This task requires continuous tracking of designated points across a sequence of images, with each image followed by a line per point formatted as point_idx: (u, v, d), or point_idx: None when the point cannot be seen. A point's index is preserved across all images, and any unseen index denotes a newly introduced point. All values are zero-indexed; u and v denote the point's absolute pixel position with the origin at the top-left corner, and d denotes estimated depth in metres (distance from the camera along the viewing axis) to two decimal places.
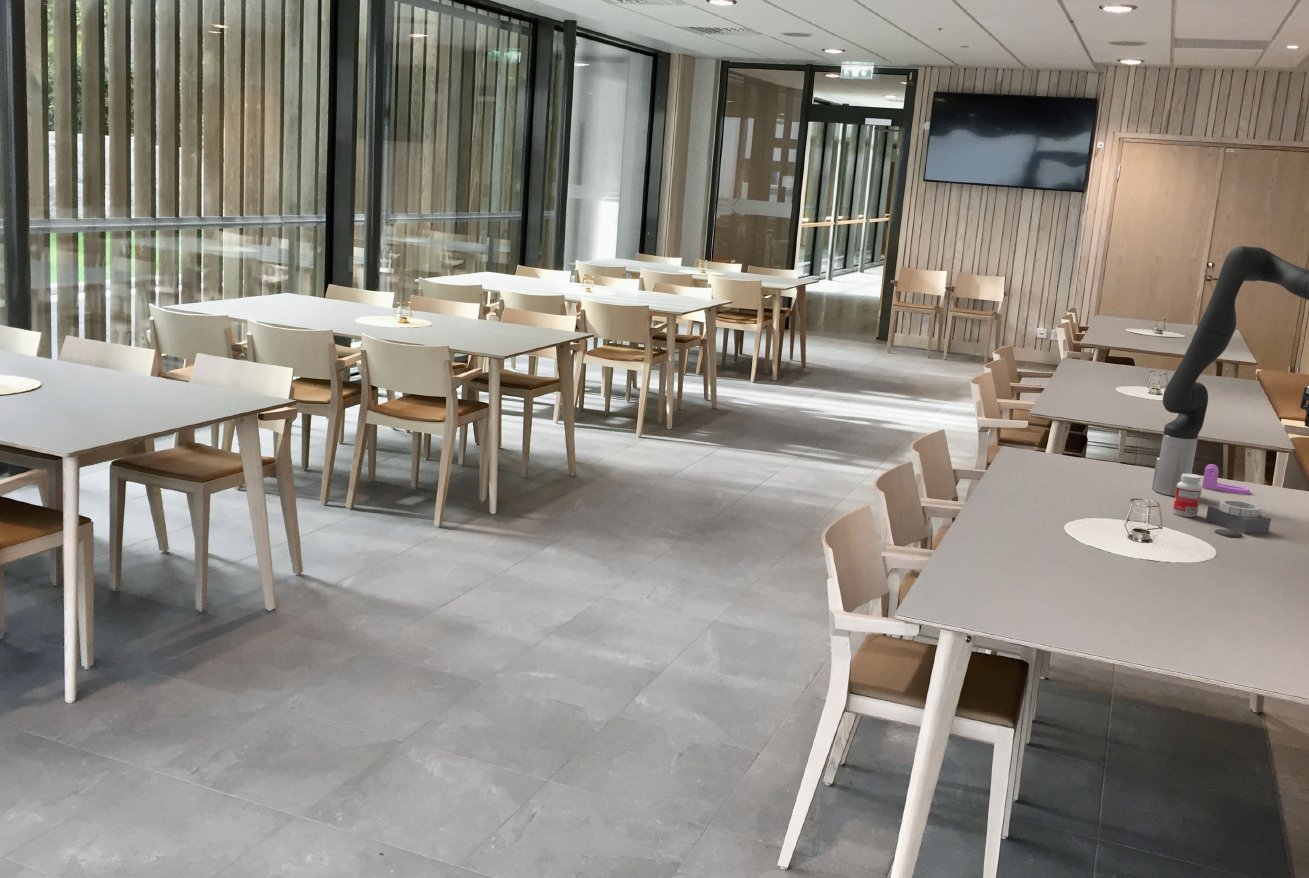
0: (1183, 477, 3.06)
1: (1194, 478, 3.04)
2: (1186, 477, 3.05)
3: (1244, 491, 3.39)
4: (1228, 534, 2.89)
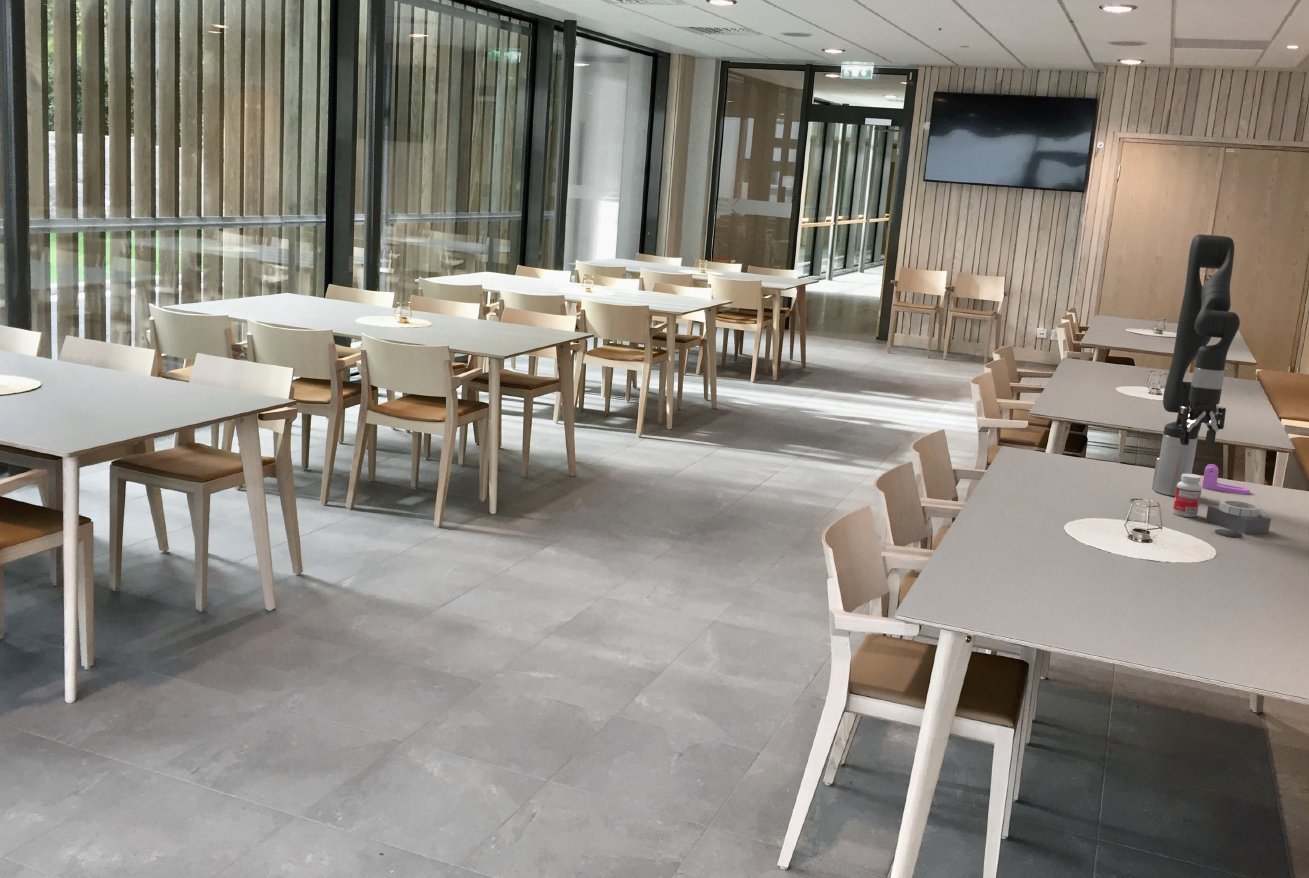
0: (1183, 477, 3.06)
1: (1194, 478, 3.04)
2: (1186, 477, 3.05)
3: (1244, 491, 3.39)
4: (1228, 534, 2.89)
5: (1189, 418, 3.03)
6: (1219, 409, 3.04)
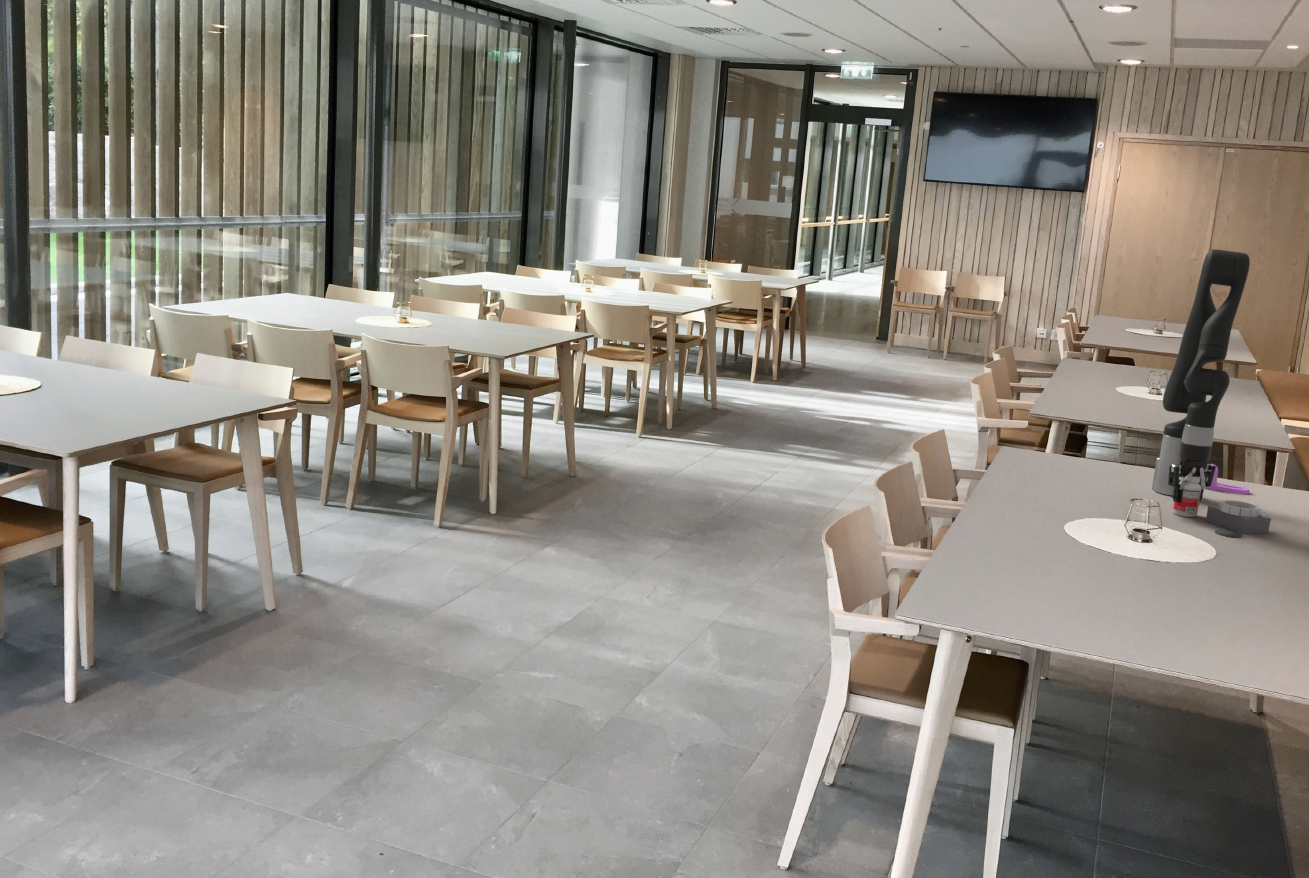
0: (1183, 477, 3.06)
1: (1194, 478, 3.04)
2: None
3: (1244, 491, 3.39)
4: (1228, 534, 2.89)
5: (1180, 475, 3.07)
6: (1209, 466, 3.07)
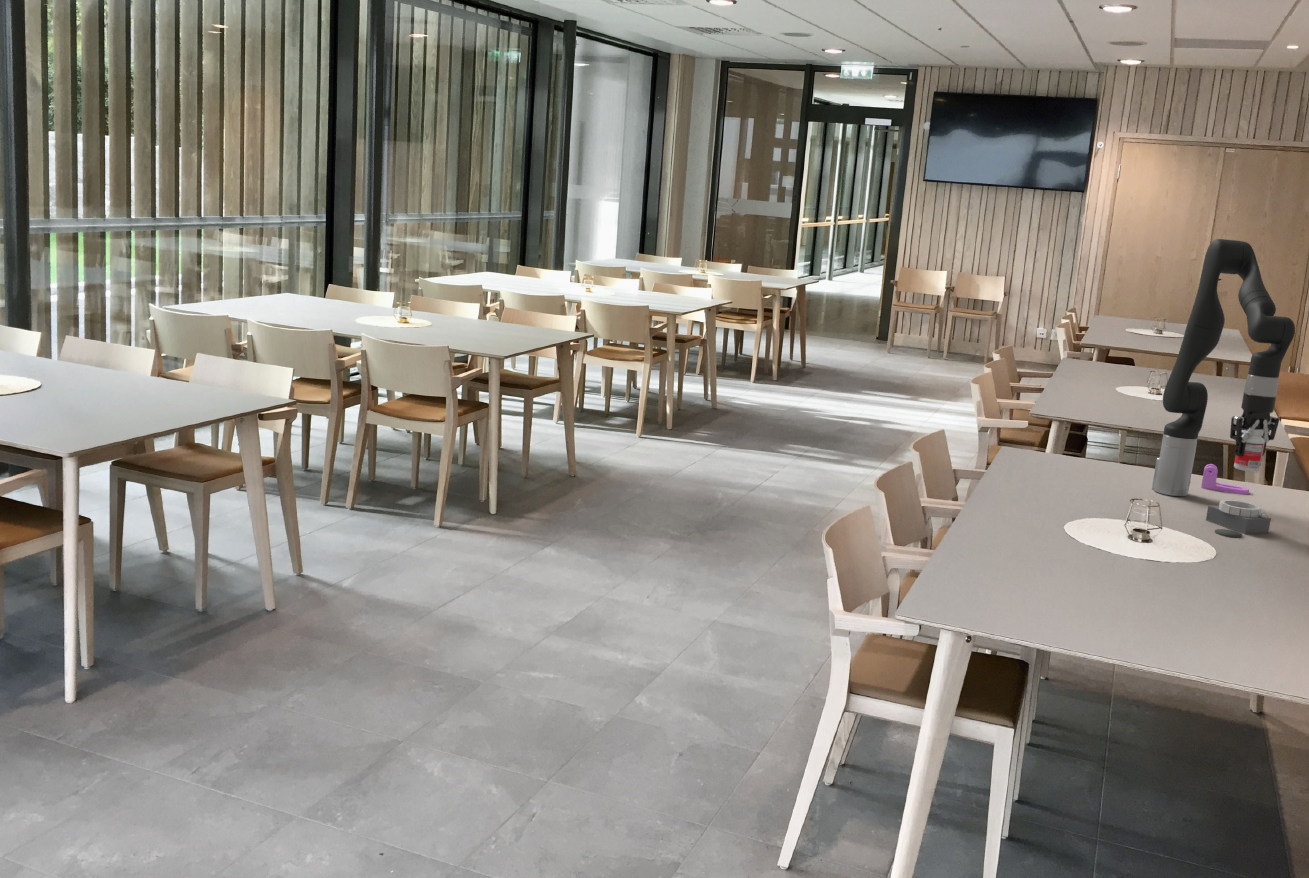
0: (1246, 430, 2.94)
1: (1257, 431, 2.92)
2: None
3: (1243, 491, 3.39)
4: (1228, 534, 2.89)
5: (1243, 427, 2.94)
6: (1272, 419, 2.95)
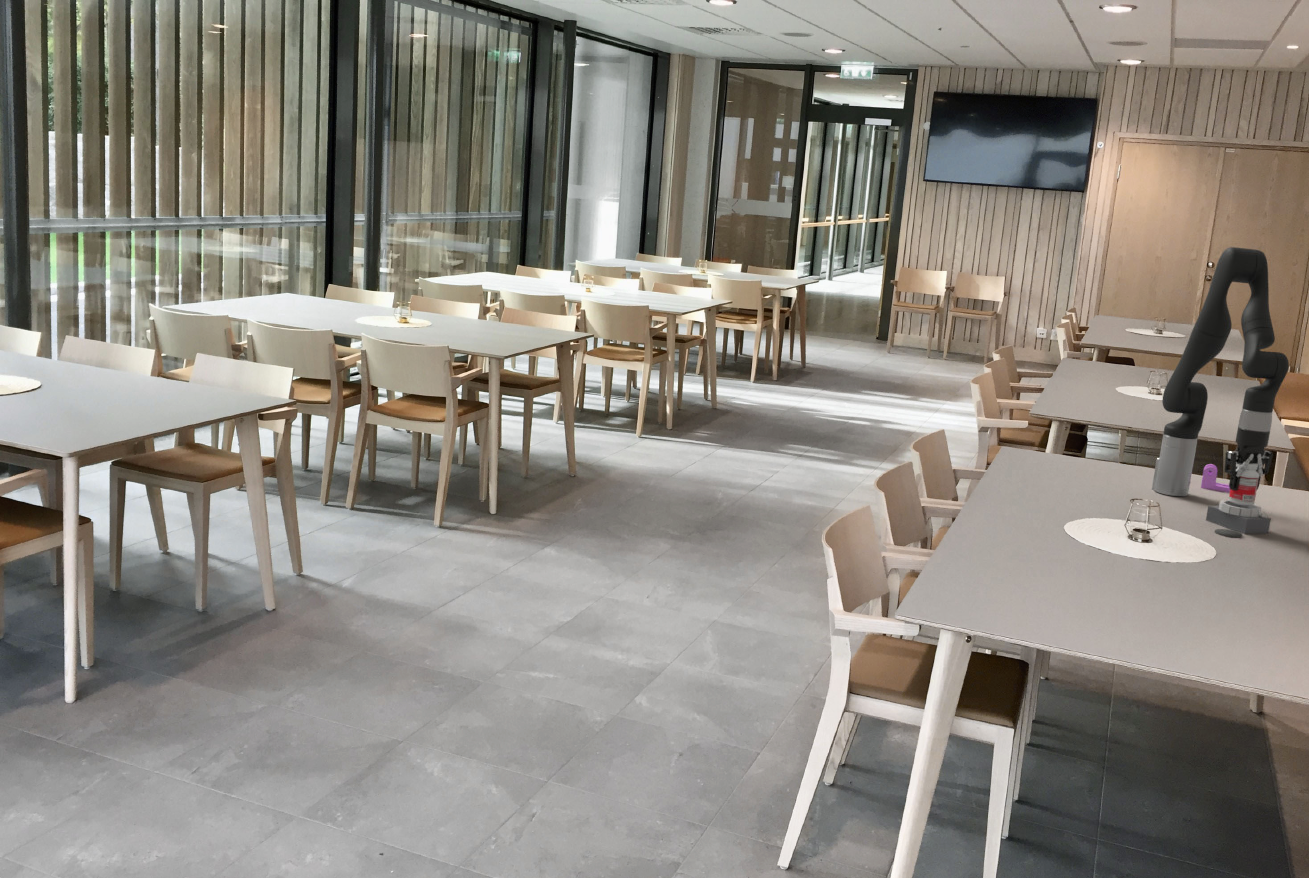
0: (1240, 464, 2.95)
1: (1252, 465, 2.94)
2: None
3: None
4: (1228, 534, 2.89)
5: (1237, 461, 2.96)
6: (1266, 453, 2.97)
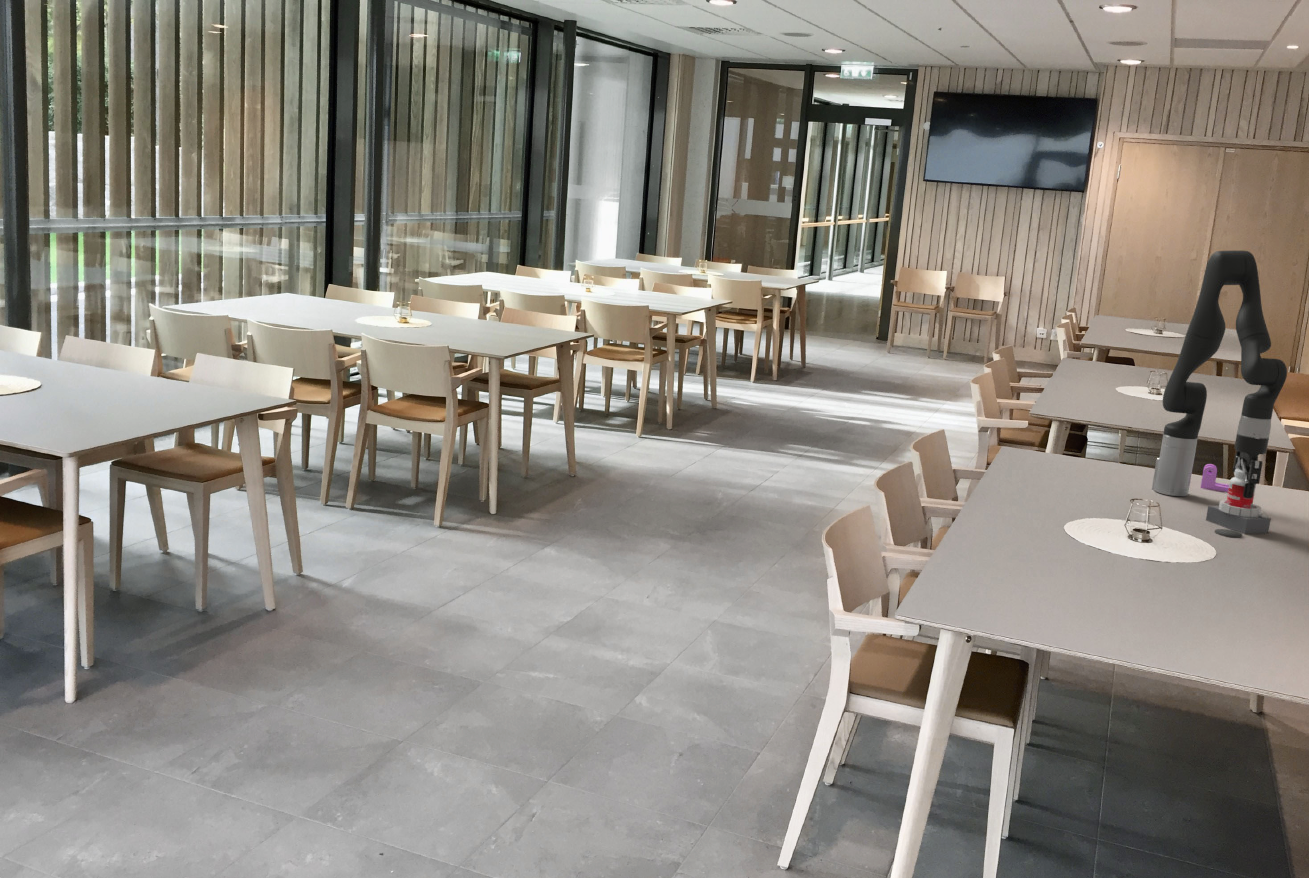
0: None
1: None
2: None
3: None
4: (1228, 534, 2.89)
5: None
6: None
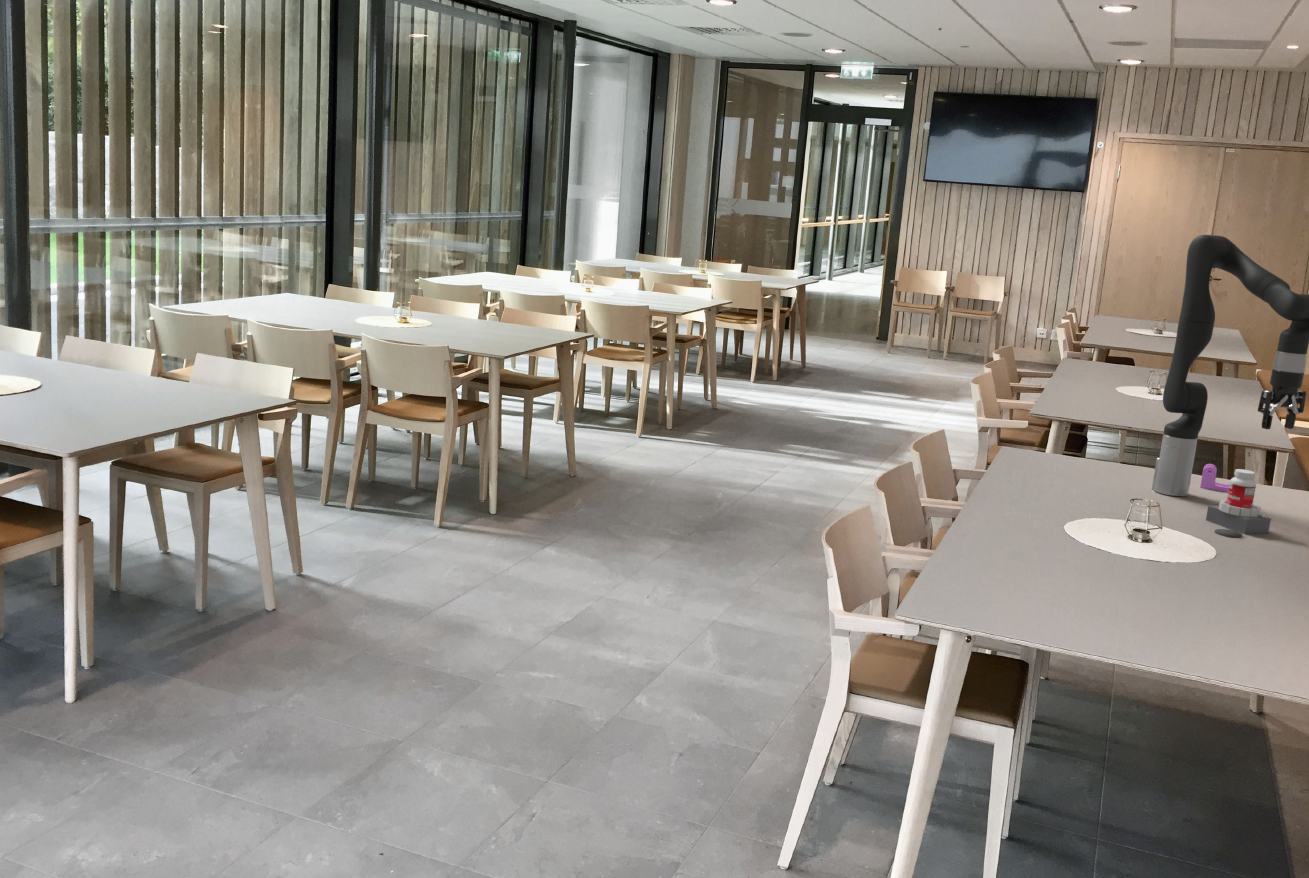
0: (1246, 475, 2.95)
1: None
2: (1250, 474, 2.94)
3: None
4: (1228, 534, 2.89)
5: (1270, 402, 3.03)
6: (1299, 393, 3.03)
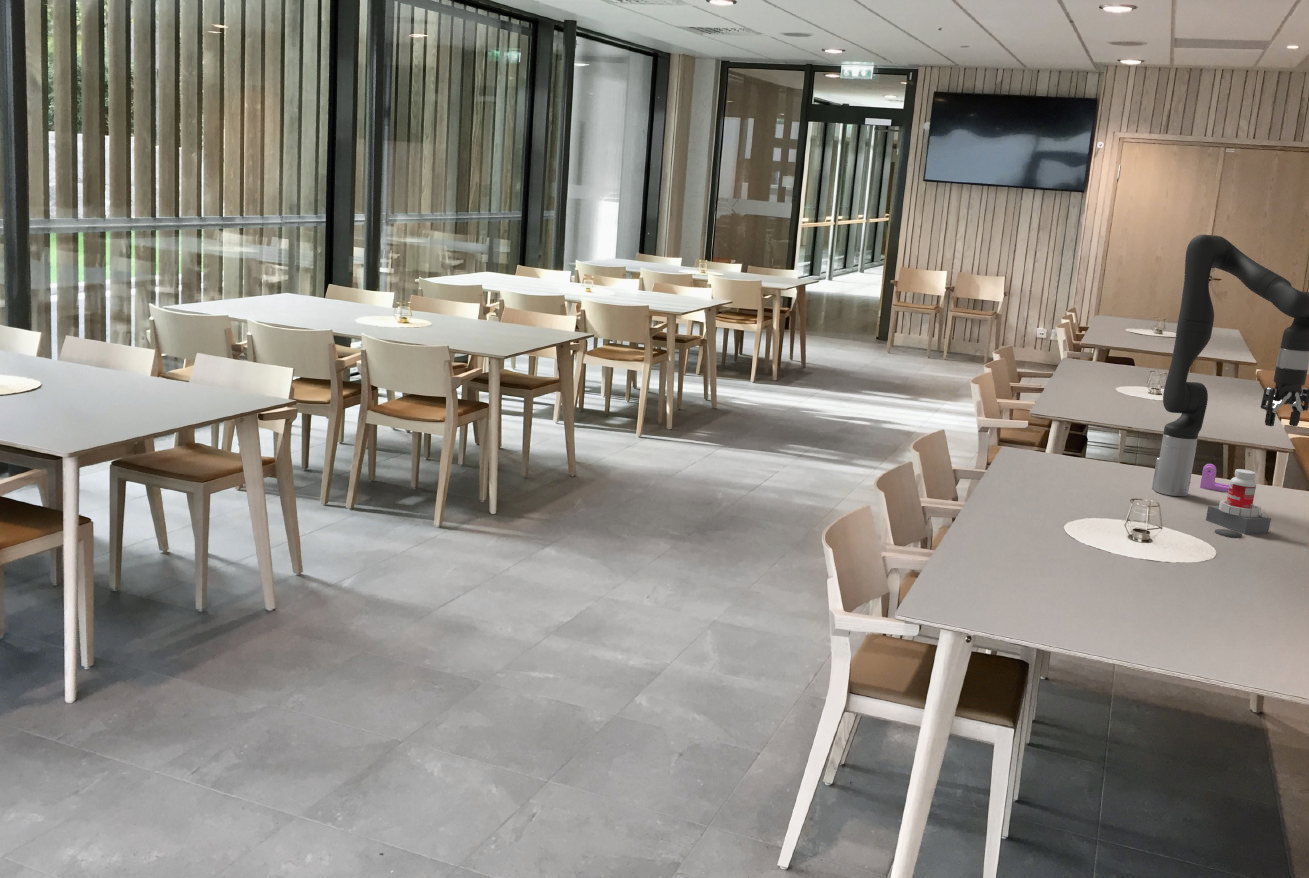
0: (1246, 475, 2.95)
1: (1254, 473, 2.95)
2: (1250, 474, 2.94)
3: None
4: (1228, 534, 2.89)
5: (1274, 399, 3.04)
6: (1304, 390, 3.04)
